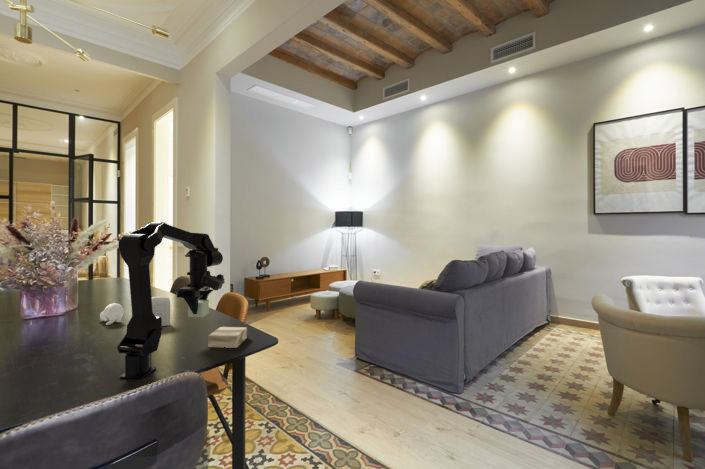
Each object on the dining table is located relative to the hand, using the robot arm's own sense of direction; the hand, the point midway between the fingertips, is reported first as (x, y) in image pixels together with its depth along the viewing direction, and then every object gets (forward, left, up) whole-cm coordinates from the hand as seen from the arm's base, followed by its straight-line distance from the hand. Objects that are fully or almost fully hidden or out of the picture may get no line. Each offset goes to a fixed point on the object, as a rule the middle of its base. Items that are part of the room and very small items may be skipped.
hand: (198, 312), depth 117 cm
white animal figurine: (+21, +50, -11) cm, 55 cm away
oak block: (+1, -10, -11) cm, 15 cm away
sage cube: (0, 0, -1) cm, 1 cm away
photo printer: (+17, +27, -11) cm, 34 cm away
